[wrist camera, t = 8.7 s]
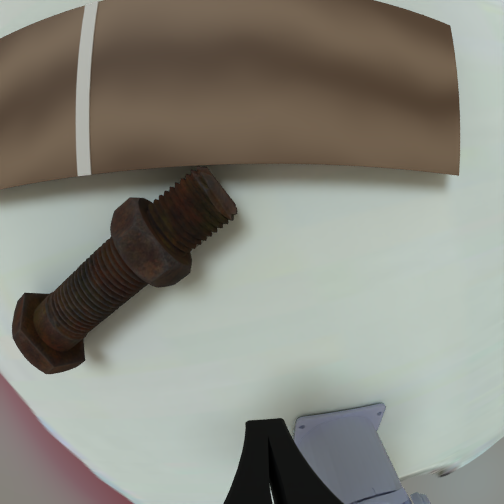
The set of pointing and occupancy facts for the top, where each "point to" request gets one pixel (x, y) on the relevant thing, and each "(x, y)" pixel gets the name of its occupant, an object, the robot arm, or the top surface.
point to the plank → (227, 88)
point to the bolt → (121, 269)
